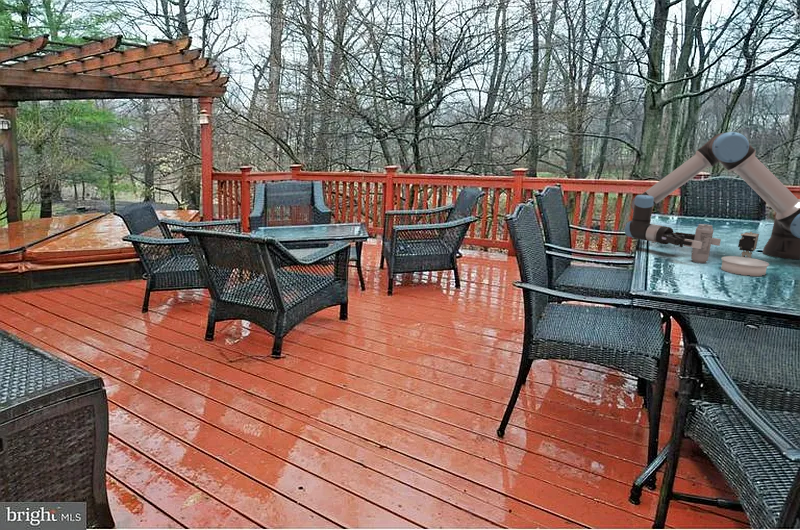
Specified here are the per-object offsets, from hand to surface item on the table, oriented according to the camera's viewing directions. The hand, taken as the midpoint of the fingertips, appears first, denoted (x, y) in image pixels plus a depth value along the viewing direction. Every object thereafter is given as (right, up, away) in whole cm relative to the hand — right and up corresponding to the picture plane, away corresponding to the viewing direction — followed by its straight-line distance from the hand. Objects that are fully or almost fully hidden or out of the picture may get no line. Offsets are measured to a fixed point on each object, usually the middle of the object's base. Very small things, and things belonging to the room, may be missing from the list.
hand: (710, 243), depth 199 cm
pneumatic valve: (+20, -6, +9) cm, 23 cm away
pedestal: (+7, -11, -9) cm, 15 cm away
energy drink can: (-2, -7, +5) cm, 9 cm away
